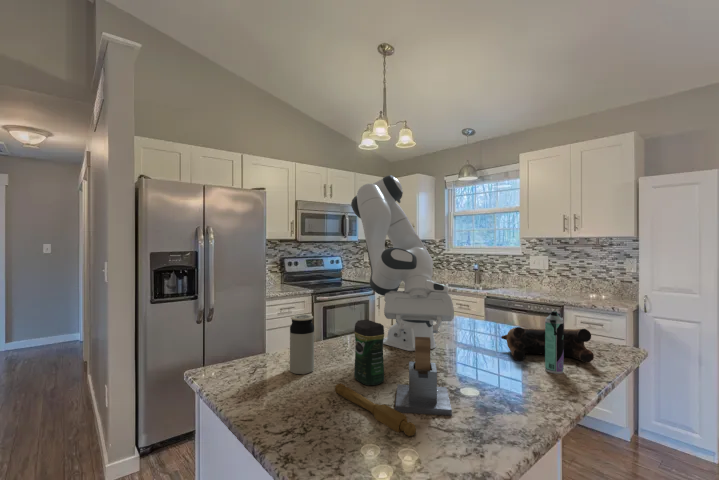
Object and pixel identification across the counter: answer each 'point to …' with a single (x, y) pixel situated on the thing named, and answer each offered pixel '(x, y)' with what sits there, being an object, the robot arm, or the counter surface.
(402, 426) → the tap handle
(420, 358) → the column
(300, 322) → the travel mug
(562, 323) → the spray can
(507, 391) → the counter surface
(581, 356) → the stuffed animal
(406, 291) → the robot arm
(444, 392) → the stand
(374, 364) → the coffee jar
